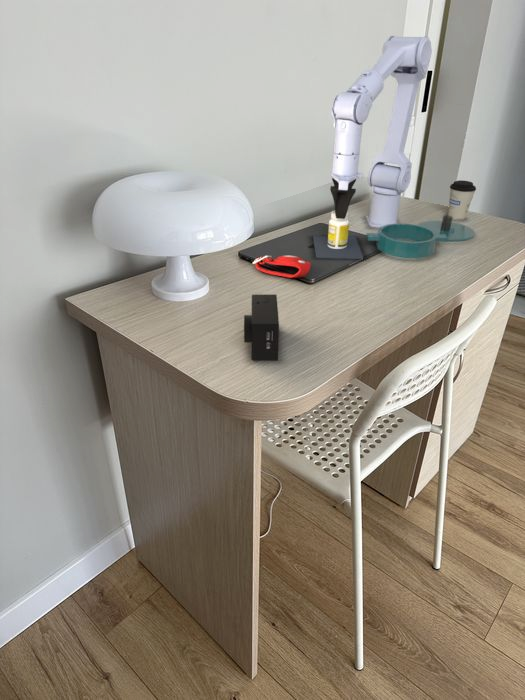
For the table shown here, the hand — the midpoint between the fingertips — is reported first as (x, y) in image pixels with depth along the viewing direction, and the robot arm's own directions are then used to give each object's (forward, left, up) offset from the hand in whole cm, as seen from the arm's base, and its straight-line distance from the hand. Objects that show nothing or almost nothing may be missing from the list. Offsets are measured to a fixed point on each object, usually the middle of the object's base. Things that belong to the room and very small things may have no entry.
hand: (340, 213), depth 120 cm
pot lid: (-11, +29, -8) cm, 32 cm away
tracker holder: (+15, -14, -9) cm, 22 cm away
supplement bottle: (0, 0, -8) cm, 8 cm away
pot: (+1, +16, -9) cm, 18 cm away
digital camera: (+46, -18, -9) cm, 50 cm away
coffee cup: (-24, +36, -9) cm, 45 cm away
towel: (0, 0, -9) cm, 9 cm away
